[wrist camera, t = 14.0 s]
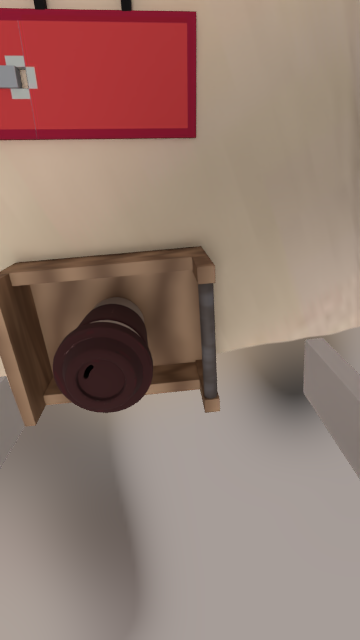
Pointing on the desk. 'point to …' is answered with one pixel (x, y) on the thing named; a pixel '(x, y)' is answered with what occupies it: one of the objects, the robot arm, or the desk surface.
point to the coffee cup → (105, 358)
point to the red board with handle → (97, 73)
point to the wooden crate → (82, 296)
